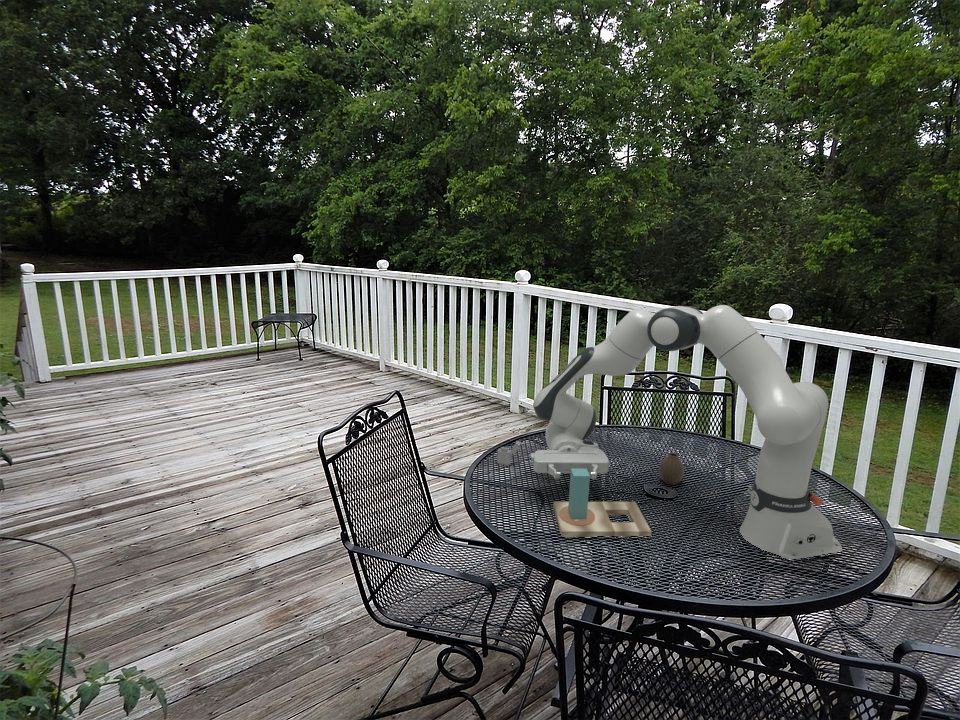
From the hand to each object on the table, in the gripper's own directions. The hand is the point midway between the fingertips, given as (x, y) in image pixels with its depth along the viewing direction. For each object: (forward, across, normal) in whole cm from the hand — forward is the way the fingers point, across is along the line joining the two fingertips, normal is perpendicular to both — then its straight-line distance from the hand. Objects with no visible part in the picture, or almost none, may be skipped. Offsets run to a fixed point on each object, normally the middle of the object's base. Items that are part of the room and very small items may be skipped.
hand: (575, 476), depth 147 cm
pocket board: (+4, +6, +11) cm, 13 cm away
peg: (+4, 0, +9) cm, 10 cm away
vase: (-18, +32, +11) cm, 38 cm away
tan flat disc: (+4, 0, +9) cm, 10 cm away
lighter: (-29, -15, +11) cm, 34 cm away
